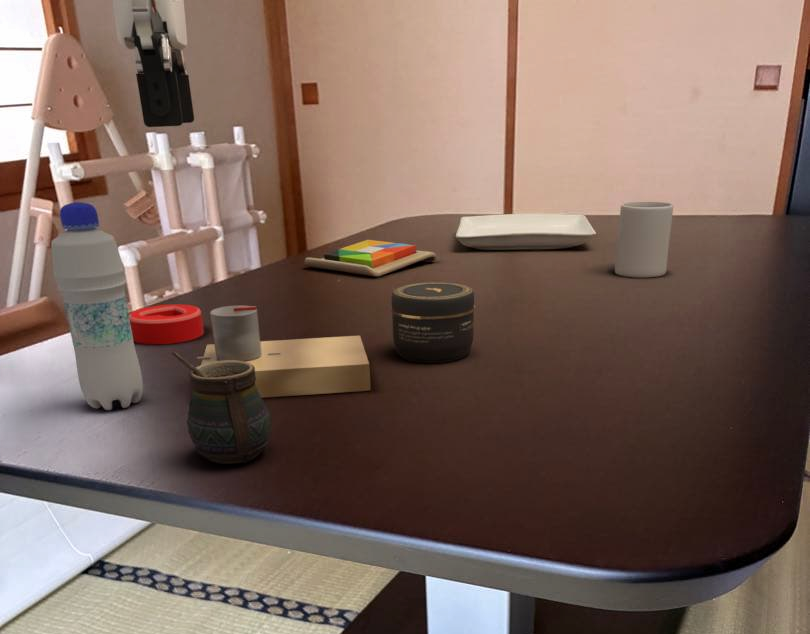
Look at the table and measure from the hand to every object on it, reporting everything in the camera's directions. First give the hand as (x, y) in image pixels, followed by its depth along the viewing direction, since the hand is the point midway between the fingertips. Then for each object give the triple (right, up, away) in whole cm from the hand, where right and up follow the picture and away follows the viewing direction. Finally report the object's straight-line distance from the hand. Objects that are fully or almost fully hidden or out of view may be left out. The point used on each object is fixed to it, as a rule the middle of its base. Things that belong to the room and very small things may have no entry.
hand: (171, 124), depth 76 cm
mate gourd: (+6, -30, -1) cm, 31 cm away
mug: (+62, +9, +69) cm, 93 cm away
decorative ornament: (-11, -10, +39) cm, 41 cm away
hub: (+3, -17, +17) cm, 25 cm away
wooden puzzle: (+15, +13, +80) cm, 83 cm away
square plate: (+46, +25, +100) cm, 113 cm away
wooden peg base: (+8, -19, +19) cm, 28 cm away
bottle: (-10, -23, +13) cm, 29 cm away
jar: (+25, -15, +27) cm, 40 cm away
